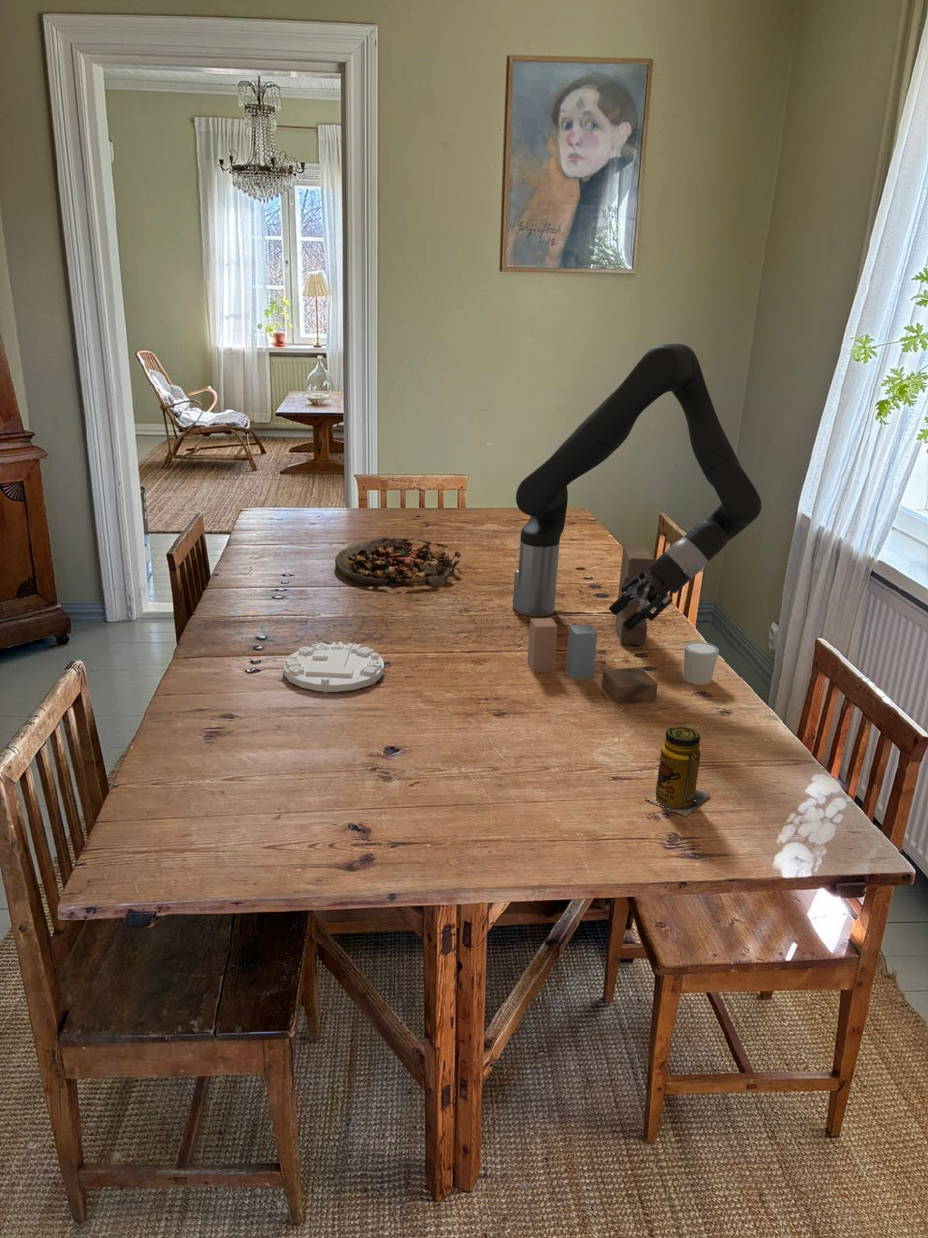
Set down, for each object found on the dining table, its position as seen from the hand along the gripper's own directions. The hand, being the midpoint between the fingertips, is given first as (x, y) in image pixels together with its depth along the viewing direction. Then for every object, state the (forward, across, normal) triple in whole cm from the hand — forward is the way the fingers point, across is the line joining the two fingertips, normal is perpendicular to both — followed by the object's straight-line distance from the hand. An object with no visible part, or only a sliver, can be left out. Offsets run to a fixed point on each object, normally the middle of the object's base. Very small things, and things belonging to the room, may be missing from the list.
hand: (618, 619), depth 190 cm
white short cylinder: (-3, +5, +20) cm, 21 cm away
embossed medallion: (+49, -6, -31) cm, 58 cm away
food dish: (+35, -71, -17) cm, 81 cm away
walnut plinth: (+9, +10, +8) cm, 16 cm away
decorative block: (+1, -19, +16) cm, 25 cm away
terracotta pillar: (+18, -4, -2) cm, 19 cm away
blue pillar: (+14, 0, +3) cm, 14 cm away
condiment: (+12, +47, +5) cm, 49 cm away
